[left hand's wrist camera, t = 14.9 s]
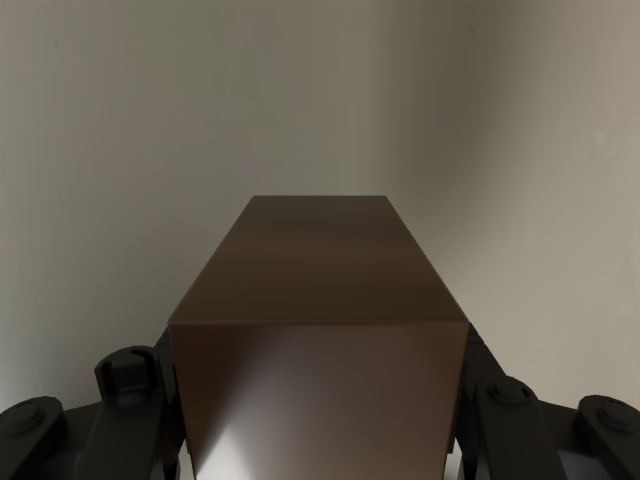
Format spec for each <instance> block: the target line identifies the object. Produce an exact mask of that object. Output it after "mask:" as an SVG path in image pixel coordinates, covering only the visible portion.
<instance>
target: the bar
mask: <svg viewBox="0 0 640 480" xmlns="http://www.w3.org/2000/svg"><path fill="white" fill-rule="evenodd" d="M168 329H169V335H170V341H171V347H172V352H173V358H174V364H175V370H176V376H177V381H178V387H179V393H180V399H181V405H182V410H183V416H184V422H185V428H186V434H187V439H188V445H189V451H190V457H191V463H192V469H193V474H194V480H443V477H444V471H445V465H446V459H447V454H448V448H449V442H450V436H451V430H452V424H453V418H454V412H455V406H456V401H457V395H458V389H459V383H460V377H461V371H462V365H463V359H464V353H465V348H466V342H467V336H468V330H469V320H468V318H467V317H466V315H465V314H464V312H463V311H462V309H461V308H460V306H459V305H458V303H457V302H456V300H455V299H454V297H453V296H452V294H451V293H450V291H449V290H448V288H447V287H446V285H445V284H444V282H443V281H442V279H441V278H440V276H439V275H438V273H437V272H436V270H435V269H434V267H433V266H432V264H431V263H430V261H429V260H428V258H427V257H426V255H425V254H424V252H423V251H422V249H421V248H420V246H419V245H418V243H417V242H416V240H415V239H414V237H413V236H412V234H411V233H410V231H409V230H408V228H407V227H406V225H405V224H404V222H403V221H402V220H401V218H400V217H399V215H398V214H397V212H396V211H395V209H394V208H393V206H392V205H391V203H390V202H389V200H388V199H387V197H386V196H253V197H252V199H251V200H250V201H249V203H248V204H247V206H246V207H245V209H244V210H243V212H242V213H241V215H240V216H239V217H238V219H237V220H236V222H235V223H234V225H233V226H232V228H231V229H230V231H229V232H228V234H227V235H226V236H225V238H224V239H223V241H222V242H221V244H220V245H219V247H218V248H217V250H216V251H215V252H214V254H213V255H212V257H211V258H210V260H209V261H208V263H207V264H206V266H205V267H204V268H203V270H202V271H201V273H200V274H199V276H198V277H197V279H196V280H195V282H194V283H193V284H192V286H191V287H190V289H189V290H188V292H187V293H186V295H185V296H184V298H183V299H182V301H181V302H180V303H179V305H178V306H177V308H176V309H175V311H174V312H173V314H172V315H171V317H170V318H169V320H168Z"/></svg>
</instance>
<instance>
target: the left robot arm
mask: <svg viewBox="0 0 640 480" xmlns="http://www.w3.org/2000/svg"><path fill="white" fill-rule="evenodd" d="M94 372H95V375H96V379H97V383H98V386H99V390H100V394H101V397H102V401H101V402H98V403H95V404H91V405H87V406H83V407H78V408H74V409H70V410H65V411H64V410H63V407H62V404H61V402H60V401H59V400H58V399H56V398H54V397H48V396H43V397H36V398H31V399H28V400H26V401H23V402H20V403H18V404H16V405H14V406H12V407H10V408H8V409H7V410H5V411H3V412H2V413H1V414H0V480H180V462H179V457H178V454H179V452H180V449H181V447H182V444H183V442H184V439H185V441H186V447H187V452H188V454H190V451H189V445H188V439H187V434H186V428H185V422H184V416H183V410H182V405H181V399H180V393H179V387H178V381H177V376H176V370H175V364H174V358H173V352H172V347H171V341H170V335H169V329H168V327H167V328H166V330H165V331H164V333H163V334H162V337H160V339H159V340H158V342H157V343H156V346H154V348H152V347H148V346H132V347H128V348H124V349H120V350H118V351H116V352H114V353H112V354H109V355H108V356H107V357H105V358H104V359H103V360H101V361H100V362H99V363H98V365H97V366H96V368H95V369H94ZM455 437H456V439H457V442H458V444H459V447H460V449H461V452H462V457H461V462H460V467H459V472H458V478H457V480H640V412H639V411H638V410H637V409H635V408H633V407H632V406H630V405H628V404H626V403H624V402H622V401H619V400H617V399H614V398H611V397H608V396H601V395H590V396H585V397H584V398H583V399H581V400H580V402H579V405H578V408H577V409H573V408H568V407H564V406H560V405H555V404H551V403H547V402H544V401H541V400H538V398H537V397H536V395H535V393H534V392H533V390H531V389H530V388H529V387H528V386H527V385H525V384H524V383H523V382H521V381H519V380H517V379H515V378H513V377H510V376H507V375H506V374H505V373H504V371H503V370H502V368H501V367H500V365H499V364H498V362H497V361H496V359H495V358H494V356H493V355H492V353H491V352H490V350H489V349H488V347H487V346H486V345H485V344H484V341H483V340H482V338H481V337H480V336H479V335H478V332H477V331H476V329H475V328H474V326H473V325H472V323H471V322H469V330H468V336H467V342H466V348H465V353H464V359H463V365H462V371H461V377H460V383H459V389H458V395H457V401H456V406H455V412H454V418H453V424H452V430H451V436H450V442H449V448H448V454H453V448H454V442H455Z"/></svg>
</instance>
